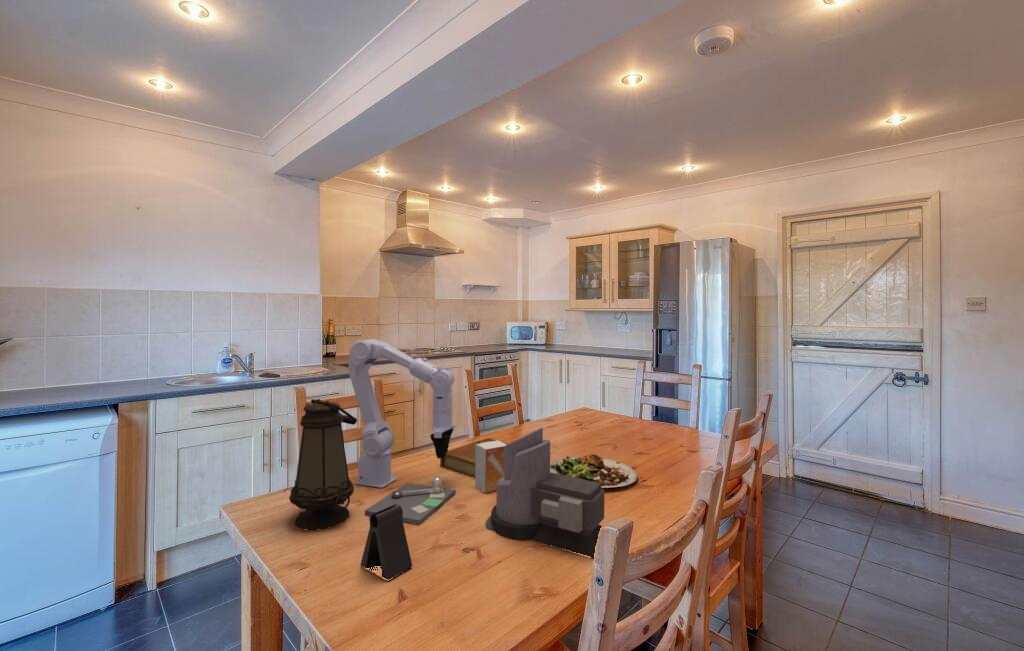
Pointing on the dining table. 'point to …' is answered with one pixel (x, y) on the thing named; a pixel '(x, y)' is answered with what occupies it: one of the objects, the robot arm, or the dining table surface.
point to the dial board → (414, 503)
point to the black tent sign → (387, 543)
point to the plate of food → (595, 470)
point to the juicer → (545, 500)
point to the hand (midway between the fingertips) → (442, 455)
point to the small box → (489, 465)
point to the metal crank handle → (435, 489)
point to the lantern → (322, 467)
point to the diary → (462, 458)
